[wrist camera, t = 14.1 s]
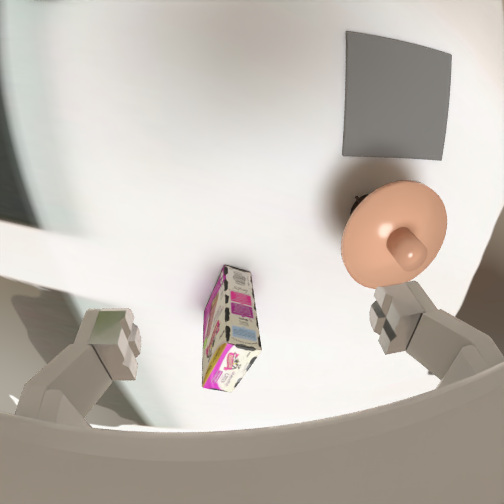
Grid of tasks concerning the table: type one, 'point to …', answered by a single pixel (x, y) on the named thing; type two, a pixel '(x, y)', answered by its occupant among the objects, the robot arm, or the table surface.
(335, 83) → the table surface
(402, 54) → the mat
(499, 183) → the table surface
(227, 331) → the candy bar box
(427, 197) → the lid
